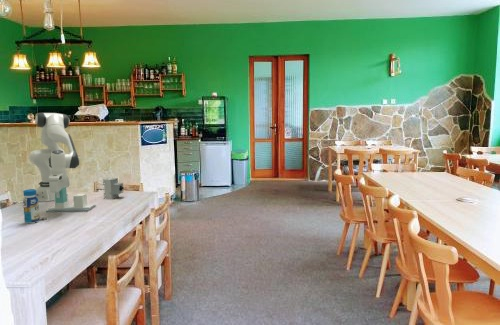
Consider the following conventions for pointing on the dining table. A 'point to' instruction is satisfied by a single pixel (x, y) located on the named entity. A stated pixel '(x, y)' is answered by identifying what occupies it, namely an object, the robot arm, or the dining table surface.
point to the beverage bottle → (31, 206)
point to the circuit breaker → (112, 188)
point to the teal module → (61, 196)
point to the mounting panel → (78, 206)
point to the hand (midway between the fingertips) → (61, 196)
